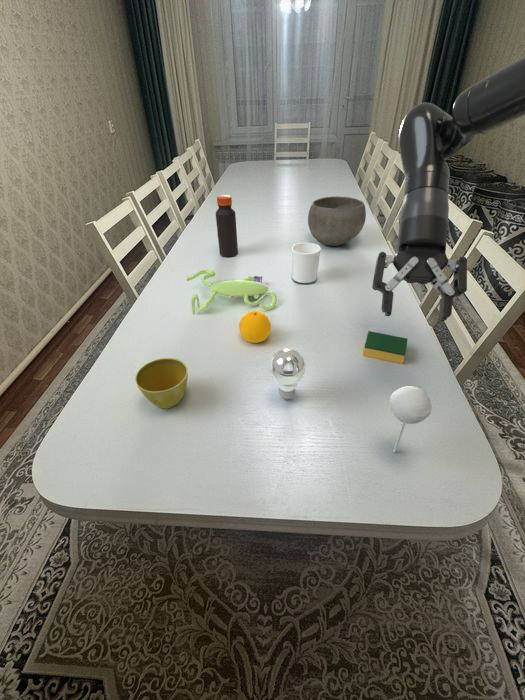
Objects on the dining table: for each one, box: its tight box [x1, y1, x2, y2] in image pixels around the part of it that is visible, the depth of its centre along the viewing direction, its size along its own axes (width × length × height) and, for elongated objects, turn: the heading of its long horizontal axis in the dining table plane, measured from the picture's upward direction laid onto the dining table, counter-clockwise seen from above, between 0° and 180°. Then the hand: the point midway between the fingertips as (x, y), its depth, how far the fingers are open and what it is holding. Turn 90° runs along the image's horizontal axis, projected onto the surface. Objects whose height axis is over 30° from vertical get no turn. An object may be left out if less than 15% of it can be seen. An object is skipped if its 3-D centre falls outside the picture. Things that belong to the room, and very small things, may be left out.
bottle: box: [215, 194, 239, 258], centre depth 126 cm, size 7×7×20 cm
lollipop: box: [389, 385, 433, 453], centre depth 59 cm, size 6×6×15 cm
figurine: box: [186, 269, 278, 315], centre depth 105 cm, size 18×27×6 cm
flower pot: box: [134, 357, 189, 409], centre depth 72 cm, size 10×10×7 cm
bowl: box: [307, 196, 367, 247], centre depth 134 cm, size 21×21×15 cm
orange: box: [238, 310, 272, 344], centre depth 88 cm, size 8×8×8 cm
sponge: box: [362, 330, 408, 365], centre depth 84 cm, size 9×6×3 cm, turn 69°
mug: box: [291, 242, 322, 285], centre depth 113 cm, size 11×9×10 cm
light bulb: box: [269, 348, 307, 400], centre depth 71 cm, size 7×7×12 cm
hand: (415, 317), depth 59 cm, fingers open, 8 cm apart
